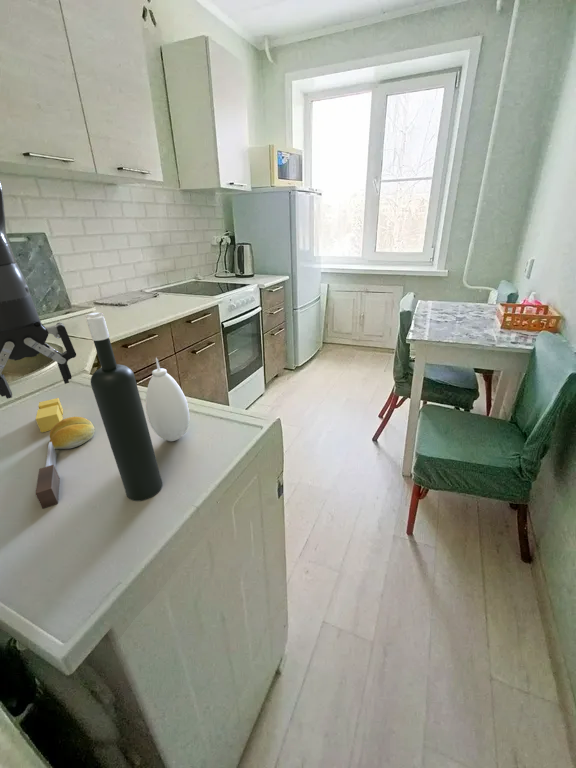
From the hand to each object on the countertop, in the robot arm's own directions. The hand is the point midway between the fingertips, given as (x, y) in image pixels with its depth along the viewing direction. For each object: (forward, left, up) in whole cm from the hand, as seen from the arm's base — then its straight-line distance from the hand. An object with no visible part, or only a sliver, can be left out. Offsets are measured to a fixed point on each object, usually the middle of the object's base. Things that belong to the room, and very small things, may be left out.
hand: (39, 389), depth 62 cm
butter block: (+5, +16, -15) cm, 22 cm away
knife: (-5, -4, -15) cm, 16 cm away
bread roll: (+5, +6, -15) cm, 17 cm away
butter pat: (+8, +20, -15) cm, 27 cm away
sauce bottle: (+15, -14, -15) cm, 25 cm away
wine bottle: (+2, -21, -15) cm, 26 cm away
